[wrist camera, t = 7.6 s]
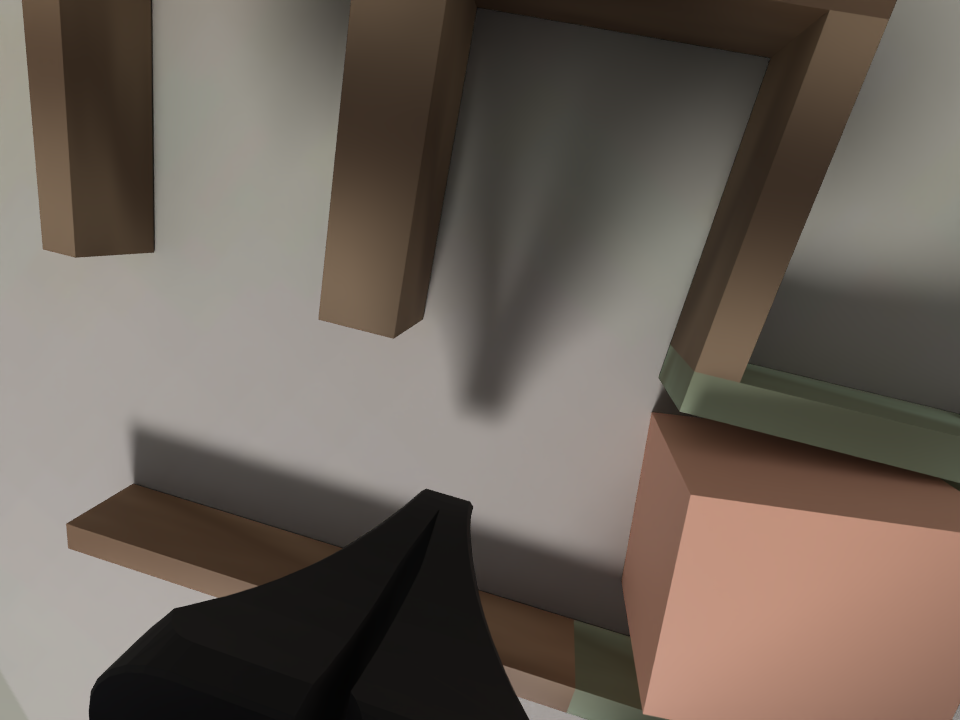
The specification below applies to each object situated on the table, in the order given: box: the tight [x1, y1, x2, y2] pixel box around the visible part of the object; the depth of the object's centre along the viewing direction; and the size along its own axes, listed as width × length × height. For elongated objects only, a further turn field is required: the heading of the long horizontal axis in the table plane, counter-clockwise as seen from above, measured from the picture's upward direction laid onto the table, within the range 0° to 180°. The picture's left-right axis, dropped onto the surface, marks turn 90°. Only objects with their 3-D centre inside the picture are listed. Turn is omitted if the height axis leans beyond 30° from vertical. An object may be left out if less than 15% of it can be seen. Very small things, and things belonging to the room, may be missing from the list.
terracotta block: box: [621, 412, 960, 720], centre depth 12 cm, size 6×6×4 cm
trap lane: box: [22, 0, 960, 720], centre depth 13 cm, size 19×25×2 cm
